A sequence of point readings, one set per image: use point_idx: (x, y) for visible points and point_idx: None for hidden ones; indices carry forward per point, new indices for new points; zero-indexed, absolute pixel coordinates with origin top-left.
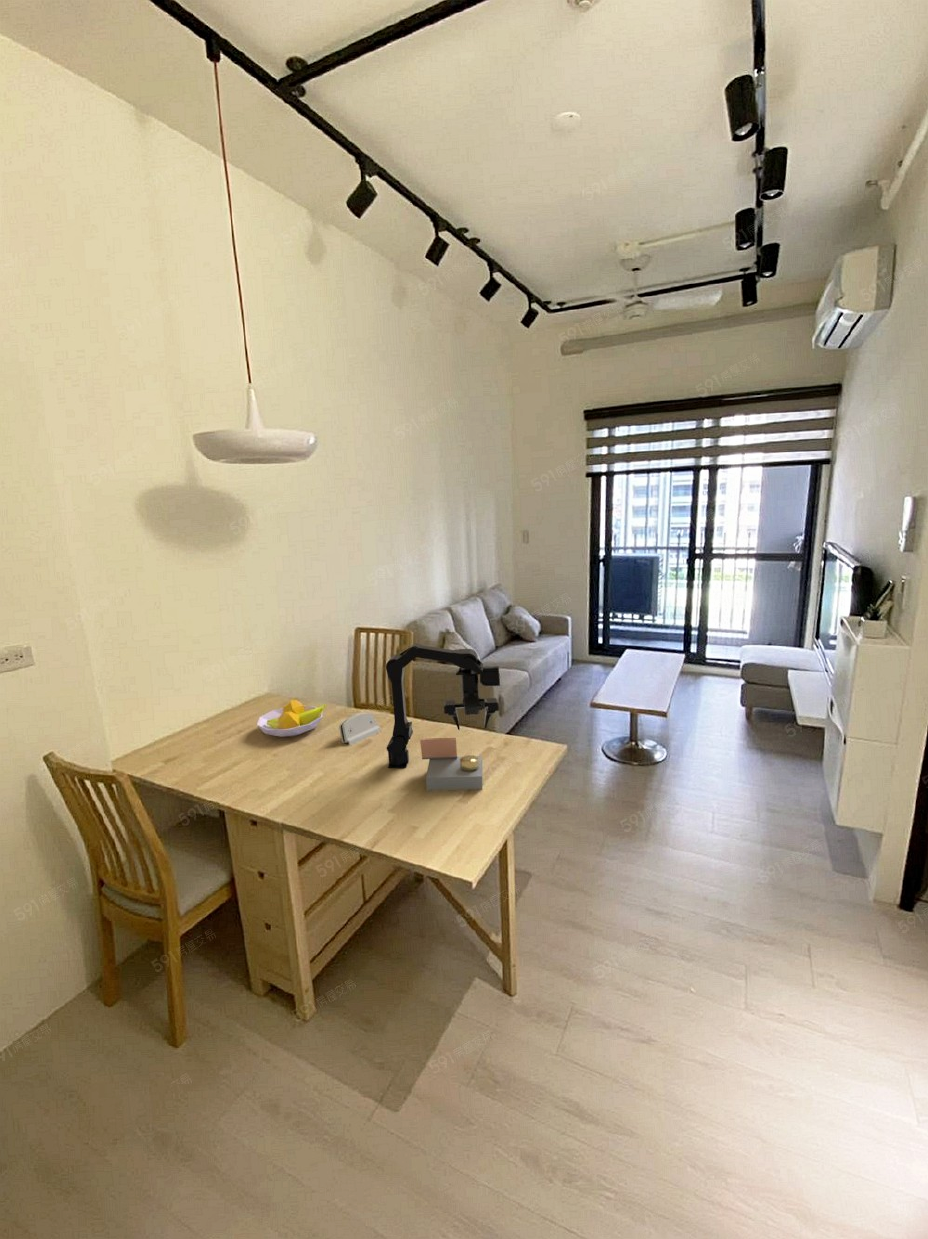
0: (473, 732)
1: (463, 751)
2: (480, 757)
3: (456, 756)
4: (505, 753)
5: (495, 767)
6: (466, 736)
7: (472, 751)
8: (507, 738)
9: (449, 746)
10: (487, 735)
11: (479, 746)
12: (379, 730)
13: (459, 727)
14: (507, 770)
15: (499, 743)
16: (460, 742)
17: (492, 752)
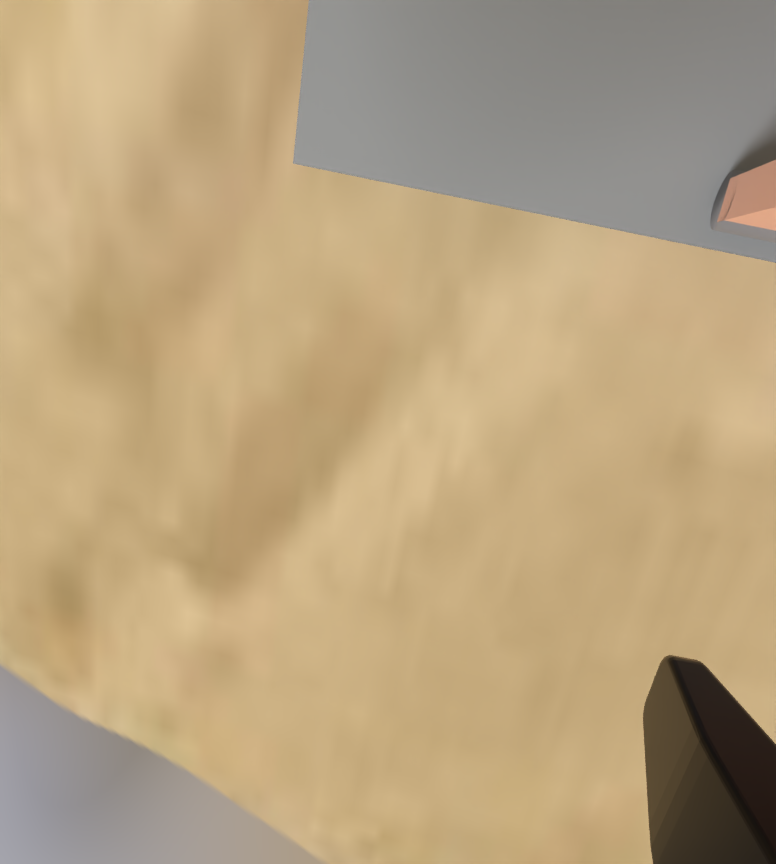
0: (328, 843)
1: (481, 592)
2: (319, 129)
3: (748, 176)
4: (68, 431)
5: (180, 133)
6: (397, 812)
7: (390, 565)
8: (55, 676)
9: None
10: (219, 769)
11: (308, 630)
12: None
13: (686, 713)
14: (37, 7)
15: (123, 623)
16: (471, 746)
17: (195, 488)
